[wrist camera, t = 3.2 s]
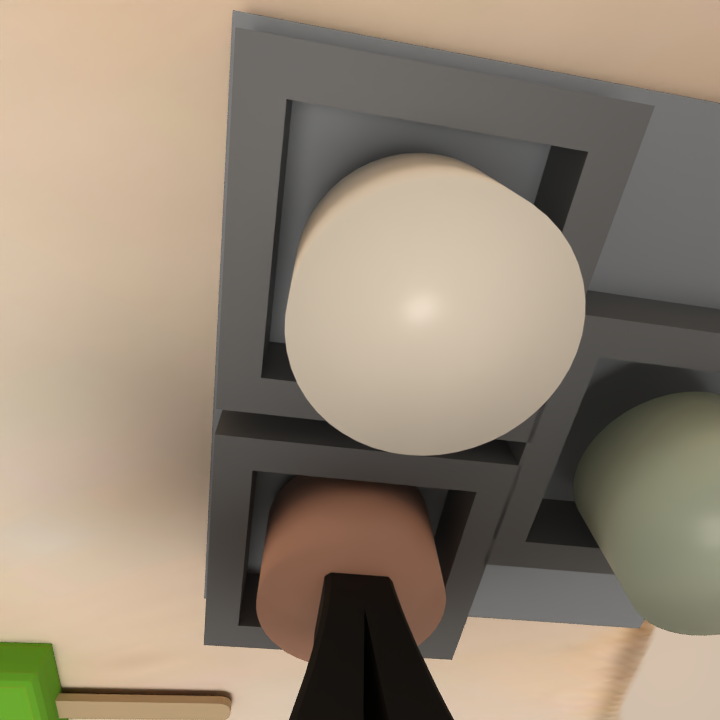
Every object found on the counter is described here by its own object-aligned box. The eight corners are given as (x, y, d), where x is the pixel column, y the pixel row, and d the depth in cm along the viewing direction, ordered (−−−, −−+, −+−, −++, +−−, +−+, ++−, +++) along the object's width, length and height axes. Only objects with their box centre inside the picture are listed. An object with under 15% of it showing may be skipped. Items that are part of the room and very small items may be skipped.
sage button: (798, 403, 11) (909, 481, 9) (710, 548, 13) (786, 641, 11) (613, 380, 11) (684, 457, 9) (548, 533, 12) (593, 628, 10)
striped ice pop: (-251, 619, 17) (-314, 678, 16) (235, 632, 19) (226, 687, 17) (-191, 722, 20) (-239, 783, 18) (234, 726, 21) (226, 782, 20)
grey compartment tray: (868, 135, 12) (1014, 152, 9) (621, 595, 18) (668, 679, 15) (243, 16, 10) (214, -3, 8) (212, 564, 16) (191, 652, 14)
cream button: (558, 174, 9) (632, 206, 7) (492, 389, 11) (533, 467, 8) (309, 132, 8) (302, 152, 6) (283, 364, 10) (271, 441, 8)
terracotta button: (444, 469, 13) (466, 545, 11) (410, 586, 15) (423, 671, 13) (275, 452, 13) (264, 528, 11) (261, 575, 14) (249, 661, 12)
